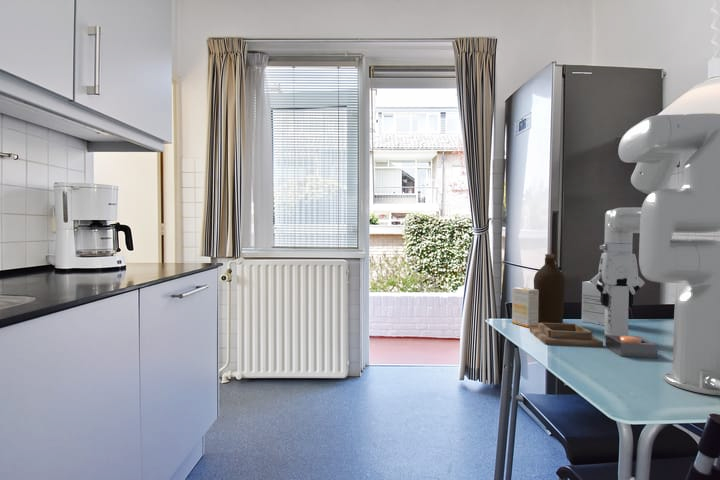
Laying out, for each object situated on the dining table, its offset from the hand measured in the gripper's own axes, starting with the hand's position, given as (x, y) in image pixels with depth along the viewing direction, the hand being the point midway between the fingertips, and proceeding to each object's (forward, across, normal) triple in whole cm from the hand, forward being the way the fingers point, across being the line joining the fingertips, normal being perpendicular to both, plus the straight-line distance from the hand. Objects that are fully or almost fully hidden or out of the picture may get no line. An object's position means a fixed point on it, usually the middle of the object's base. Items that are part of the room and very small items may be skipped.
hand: (616, 305), depth 133 cm
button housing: (+10, -4, -17) cm, 20 cm away
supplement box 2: (+10, +5, +24) cm, 27 cm away
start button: (+9, -4, -17) cm, 20 cm away
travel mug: (+10, 0, 0) cm, 10 cm away
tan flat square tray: (+10, -17, -4) cm, 20 cm away
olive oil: (+10, -14, +20) cm, 26 cm away
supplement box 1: (+10, -24, +14) cm, 30 cm away
